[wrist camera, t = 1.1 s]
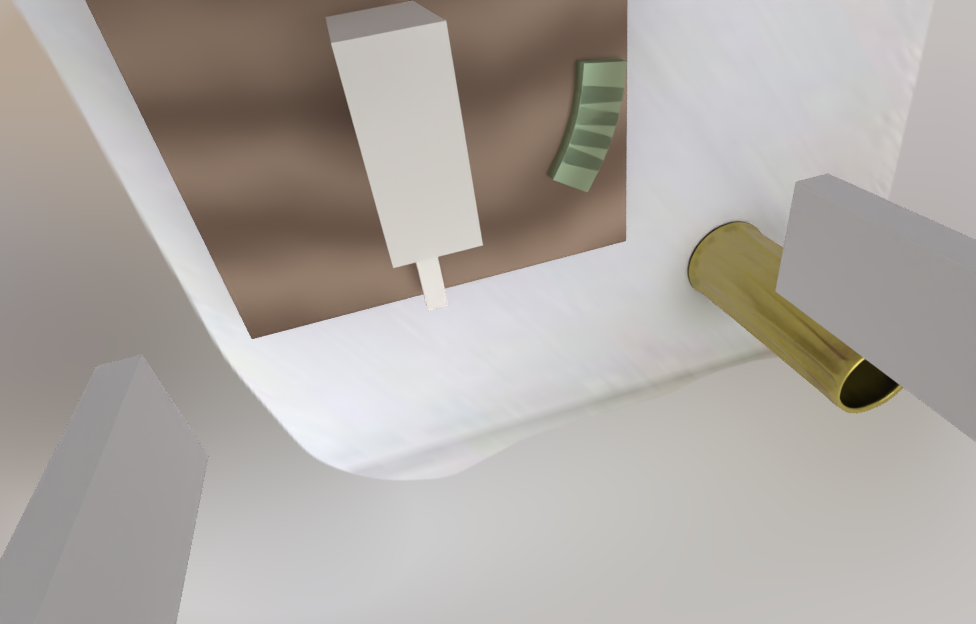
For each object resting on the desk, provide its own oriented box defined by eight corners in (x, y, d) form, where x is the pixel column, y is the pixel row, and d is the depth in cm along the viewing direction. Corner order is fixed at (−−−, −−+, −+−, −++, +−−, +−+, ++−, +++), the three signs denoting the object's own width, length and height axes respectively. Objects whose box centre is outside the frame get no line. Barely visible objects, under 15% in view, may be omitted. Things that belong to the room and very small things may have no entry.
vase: (734, 298, 45) (881, 422, 33) (673, 287, 42) (808, 417, 31) (775, 229, 42) (951, 338, 30) (712, 213, 40) (877, 326, 28)
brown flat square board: (11, -190, 21) (-27, -207, 19) (607, -268, 24) (640, -291, 22) (254, 320, 35) (250, 349, 32) (612, 228, 38) (633, 247, 36)
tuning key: (323, 9, 25) (331, 43, 17) (402, -6, 25) (446, 20, 17) (402, 295, 34) (431, 405, 26) (459, 280, 34) (505, 384, 26)
